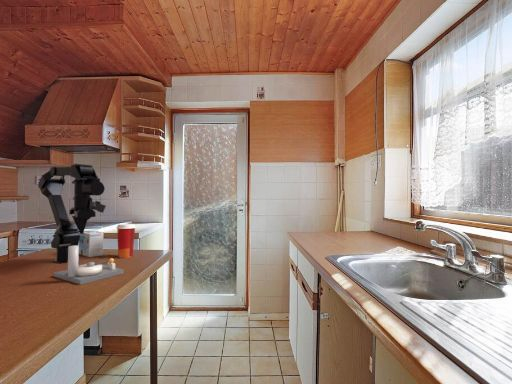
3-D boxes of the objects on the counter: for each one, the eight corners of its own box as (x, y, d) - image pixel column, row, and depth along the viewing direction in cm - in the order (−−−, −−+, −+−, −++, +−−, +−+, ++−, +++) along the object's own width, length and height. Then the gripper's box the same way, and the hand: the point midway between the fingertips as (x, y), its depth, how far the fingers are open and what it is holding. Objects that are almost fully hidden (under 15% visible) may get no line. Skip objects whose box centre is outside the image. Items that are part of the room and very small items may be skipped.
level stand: (54, 276, 104) (54, 261, 104) (97, 267, 118) (97, 254, 118) (80, 284, 97) (80, 268, 97) (123, 273, 111) (123, 259, 111)
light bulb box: (78, 254, 141) (78, 231, 141) (92, 251, 146) (93, 230, 146) (89, 257, 135) (89, 233, 135) (103, 255, 140) (104, 232, 140)
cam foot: (100, 266, 114) (101, 240, 114) (114, 269, 109) (115, 242, 109) (61, 274, 101) (61, 245, 101) (75, 279, 97) (76, 248, 97)
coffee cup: (128, 254, 143) (129, 223, 143) (138, 256, 138) (139, 224, 138) (111, 256, 137) (112, 224, 136) (121, 259, 132) (122, 226, 132)
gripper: (110, 195, 119) (109, 234, 119) (98, 194, 133) (97, 229, 133) (78, 195, 111) (77, 237, 111) (69, 194, 126) (68, 231, 126)
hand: (81, 233), depth 121 cm, fingers closed
